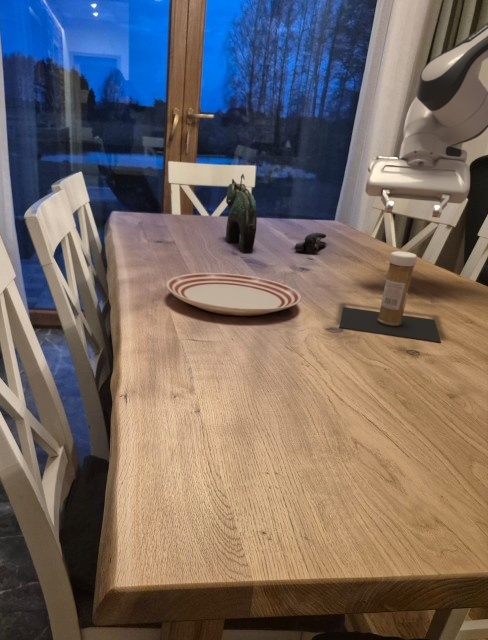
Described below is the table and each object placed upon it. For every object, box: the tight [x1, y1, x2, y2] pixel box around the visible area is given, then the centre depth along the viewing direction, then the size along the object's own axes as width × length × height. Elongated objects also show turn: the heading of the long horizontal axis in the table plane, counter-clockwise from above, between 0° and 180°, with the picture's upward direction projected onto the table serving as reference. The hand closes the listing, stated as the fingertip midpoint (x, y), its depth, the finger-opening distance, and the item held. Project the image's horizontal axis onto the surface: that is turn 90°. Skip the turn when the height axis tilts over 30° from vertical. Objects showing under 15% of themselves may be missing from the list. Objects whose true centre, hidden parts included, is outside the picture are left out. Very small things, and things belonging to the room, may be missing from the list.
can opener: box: [294, 231, 327, 254], centre depth 171 cm, size 18×7×6 cm, turn 148°
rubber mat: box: [338, 306, 442, 344], centre depth 111 cm, size 18×14×1 cm
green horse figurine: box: [225, 173, 258, 254], centre depth 166 cm, size 20×6×20 cm, turn 11°
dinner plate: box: [165, 272, 302, 317], centre depth 117 cm, size 28×27×3 cm
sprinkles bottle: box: [378, 250, 418, 326], centre depth 108 cm, size 5×5×13 cm
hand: (412, 213), depth 118 cm, fingers open, 8 cm apart
